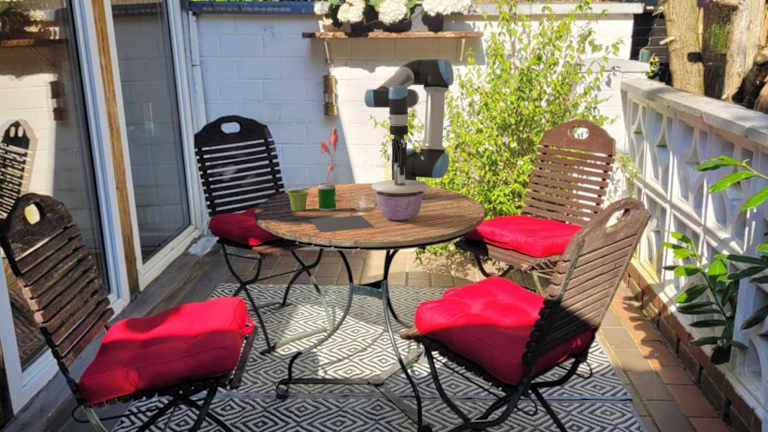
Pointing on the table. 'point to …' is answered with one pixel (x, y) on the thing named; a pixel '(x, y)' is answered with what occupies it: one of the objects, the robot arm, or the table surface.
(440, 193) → the table surface
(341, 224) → the mat
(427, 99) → the robot arm
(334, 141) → the red flower stem
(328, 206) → the soda can
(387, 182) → the lid
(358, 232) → the table surface
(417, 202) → the bowl of food
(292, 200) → the plant pot
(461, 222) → the table surface
